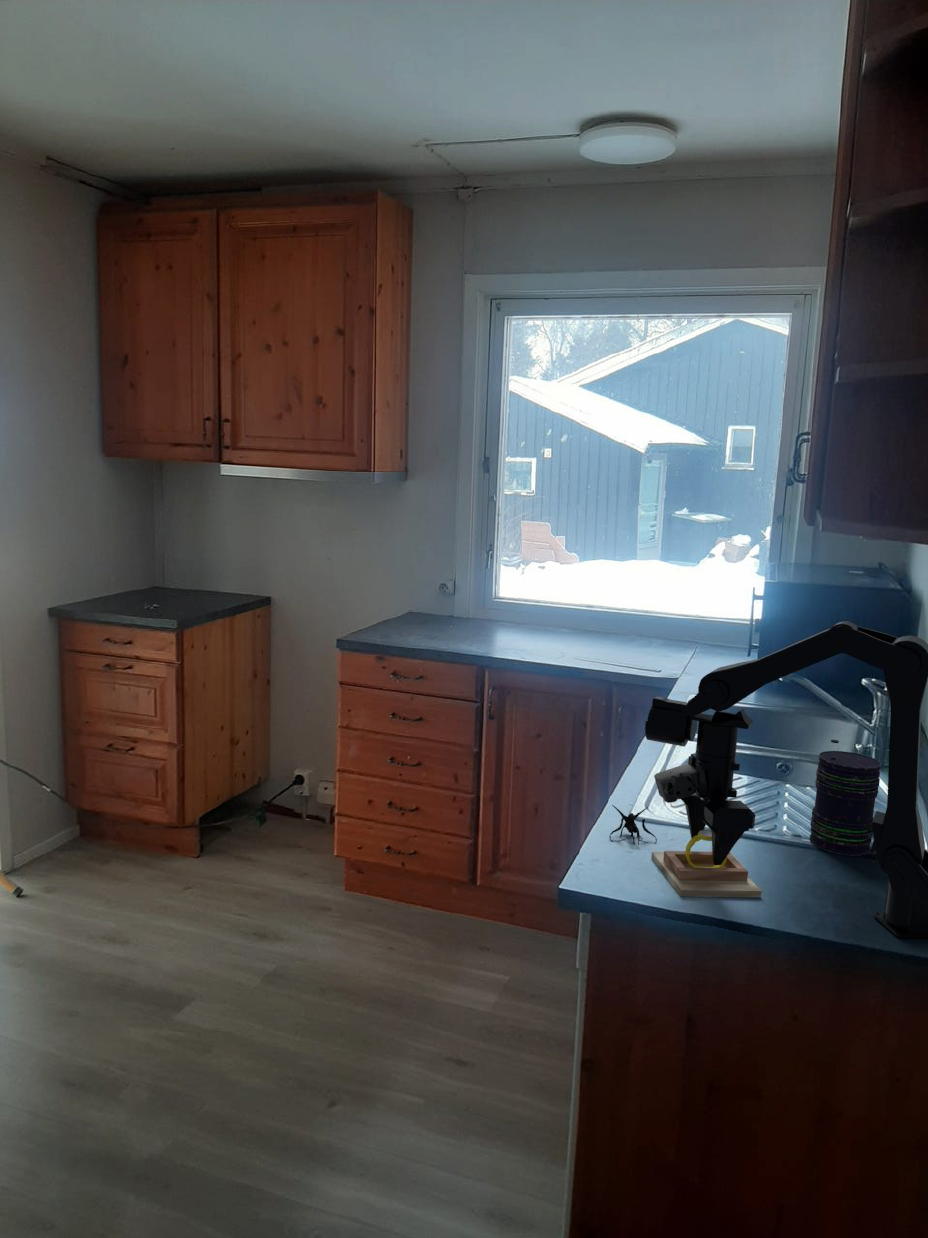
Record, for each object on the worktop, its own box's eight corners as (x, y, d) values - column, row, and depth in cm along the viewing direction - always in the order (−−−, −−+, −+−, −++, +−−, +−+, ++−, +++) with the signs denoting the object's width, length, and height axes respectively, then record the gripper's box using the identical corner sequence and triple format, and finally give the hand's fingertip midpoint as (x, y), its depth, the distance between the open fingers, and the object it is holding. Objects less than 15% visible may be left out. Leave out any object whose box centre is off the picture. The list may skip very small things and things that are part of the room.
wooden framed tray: (760, 897, 135) (762, 881, 135) (680, 896, 134) (682, 880, 134) (724, 858, 149) (726, 844, 149) (651, 857, 148) (652, 842, 147)
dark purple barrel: (855, 835, 163) (868, 735, 161) (881, 857, 154) (895, 751, 151) (799, 832, 163) (810, 732, 161) (822, 854, 153) (834, 748, 151)
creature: (659, 855, 152) (650, 827, 160) (663, 827, 150) (654, 800, 158) (611, 853, 152) (604, 825, 159) (615, 824, 150) (607, 798, 158)
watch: (687, 874, 140) (688, 836, 139) (683, 867, 143) (684, 829, 142) (727, 874, 140) (728, 836, 139) (723, 867, 143) (724, 829, 142)
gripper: (644, 733, 147) (636, 828, 149) (684, 770, 129) (674, 877, 131) (712, 735, 148) (703, 830, 150) (761, 772, 130) (750, 878, 132)
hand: (705, 852), depth 141 cm, fingers open, 9 cm apart
